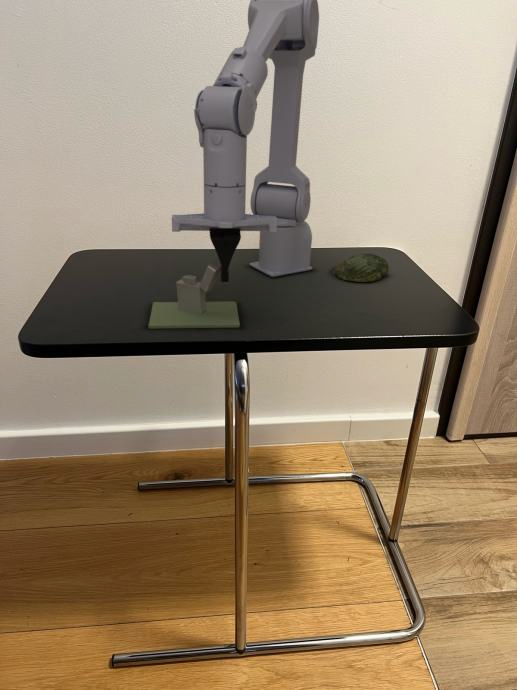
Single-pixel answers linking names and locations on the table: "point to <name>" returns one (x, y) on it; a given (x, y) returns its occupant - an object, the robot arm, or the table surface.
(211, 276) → the lighter
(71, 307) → the table surface
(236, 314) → the mat
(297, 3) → the robot arm
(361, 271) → the green rounded dome
